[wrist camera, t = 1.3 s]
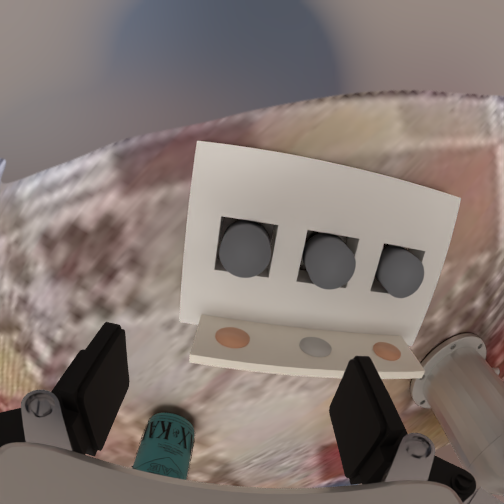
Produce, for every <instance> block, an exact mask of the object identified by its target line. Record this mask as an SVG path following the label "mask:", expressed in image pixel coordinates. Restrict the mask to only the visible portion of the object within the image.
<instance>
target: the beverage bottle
mask: <svg viewBox="0 0 504 504" xmlns="http://www.w3.org/2000/svg"><path fill="white" fill-rule="evenodd" d="M147 423H148V424H147V425H146V426H145V427H146V428H145V429H144V432H143V433H144V436H143V435H142V436H143V437H142V438H143V439H142V440H140V441H141V444H140V443H139V444H140V446H139V450H138V453H137V456H136V459H135V462H134V465H133V466H132V467H133V468H132V469H136V470H140V471H144V472H148V473H153V474H157V475H162V476H167V477H172V478H178V479H184V480H186V478H187V472H188V470H189V469H188V468H190V466H189V461H191V459H190V455H191V456H192V454H191V450H192V451H193V448H192V447H193V446H194V444H193V443H194V437H195V436H194V432H195V431H194V428H193V426H192V424H191V423H190V422H189V421H188V420H186V419H185V418H183V417H181V416H179V415H176V414H172V413H158V414H155V415H153V416H152V417H151V418H150V420H149V421H148V422H147ZM188 466H189V467H188ZM188 474H189V473H188Z"/></svg>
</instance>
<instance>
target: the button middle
mask: <svg viewBox="0 0 504 504" xmlns="http://www.w3.org/2000/svg"><path fill="white" fill-rule="evenodd" d="M302 259H303V263H304V265H305V267H306V270H307V272H308V275H309V277H310V279H311V281H312V282H313V283H314V284H315V285H316V286H318V287H320V288H323V289H329V290H330V289H336V288H339V287H341V286H343V285H345V284H346V283H347V282H348V281H349V280H350V279H351V277H352V276H353V274H354V271H355V267H356V261H355V257H354V254H353V253H352V251H351V250H350V249H349V248H348V247H347V245H346V244H345V243H344V242H343V241H342V240H341V239H340V238H339V237H338V236H336V235H334V234H330V233H320V234H317V235H315V236H313V237H312V238H310V239H309V240H308V241H307V243H306V244H305V246H304V249H303V254H302Z"/></svg>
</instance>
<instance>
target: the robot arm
mask: <svg viewBox="0 0 504 504" xmlns="http://www.w3.org/2000/svg"><path fill="white" fill-rule="evenodd" d="M485 359H486V346H485V343H484V342H483V341H482V340H481V338H480V337H478V336H477V335H475V334H472V333H465V334H460V335H457V336H454V337H452V338H450V339H448V340H446V341H445V342H443V343H442V344H440V345H439V346H438V347H436V348H435V349H434V350H433V351H432V352H431V353H430V354H429V355H428V356H427V357H426V358H425V359H424V360H423V361H422V363H421V366H422V367H423V369H424V370H425V373H424V375H423V377H422V378H413V379H412V381H411V386H410V394H411V396H412V398H413V400H414V402H415V403H416V404H417V405H418V406H420V407H423V408H431V409H432V410H433V412H434V414H435V416H436V418H437V419H438V421H439V423H440V425H441V427H442V428H443V430H444V432H445V434H446V436H447V438H448V439H449V441H450V443H451V445H452V447H453V449H454V451H455V453H456V454H457V456H458V458H459V460H460V462H461V464H462V466H463V468H464V469H462V468H460V467H457V466H455V465H453V464H451V463H449V462H447V461H445V460H443V459H441V458H439V457H437V456H435V455H434V454H435V447H434V444H433V442H432V441H431V440H430V439H429V438H428V437H426V436H425V435H423V434H419V433H410V434H407V432H406V429H405V427H404V425H403V423H402V421H401V419H400V416H399V414H398V412H397V410H396V408H395V406H394V404H393V402H392V400H391V398H390V395H389V393H388V391H387V390H386V388H385V386H384V384H383V382H382V380H381V378H380V376H379V374H378V372H377V370H376V368H375V366H374V364H373V362H372V360H371V358H370V357H369V356H355V357H354V358H353V359H350V360H349V362H348V365H347V367H346V370H345V372H344V375H343V377H342V380H341V382H340V384H339V387H338V389H337V391H336V394H335V396H334V398H333V400H332V403H331V405H330V409H329V413H330V417H331V421H332V425H333V429H334V433H335V437H336V441H337V445H338V449H339V453H340V457H341V461H342V465H343V469H344V473H345V476H346V477H347V478H349V479H350V483H351V484H360V483H362V485H352V486H339V487H325V488H256V487H241V486H229V485H219V484H211V483H203V482H196V481H190V480H184V479H178V478H172V477H167V476H162V475H157V474H153V473H148V472H144V471H140V470H136V469H132V468H128V467H124V466H120V465H117V464H113V463H109V462H106V461H103V460H99V459H96V458H93V457H90V456H87V455H85V454H89V455H92V456H95V455H96V452H97V450H100V451H101V450H102V448H103V446H104V444H105V441H106V439H107V436H108V434H109V432H110V429H111V427H112V424H113V422H114V420H115V417H116V415H117V413H118V410H119V408H120V406H121V404H122V401H123V399H124V397H125V394H126V392H127V390H128V387H129V373H128V363H127V352H126V339H125V330H123V329H121V326H120V325H118V324H113V323H109V322H105V323H104V325H103V326H102V327H101V329H100V330H99V331H98V333H97V334H96V336H95V337H94V338H93V340H92V341H91V342H90V344H89V345H88V347H87V348H86V349H85V350H81V351H80V352H79V353H78V354H77V356H76V357H75V359H74V360H73V361H72V363H71V364H70V366H69V367H68V368H67V370H66V371H65V373H64V374H63V376H62V377H61V378H60V380H59V381H58V383H57V384H56V386H55V387H54V389H53V390H52V392H50V391H46V390H35V391H32V392H30V393H28V394H27V395H26V396H25V397H24V398H23V400H22V402H21V408H18V409H14V410H10V411H6V412H1V413H0V504H504V503H503V502H501V501H500V500H498V499H497V498H496V497H494V496H493V495H491V494H495V495H502V496H504V382H503V381H502V379H501V378H500V377H499V376H498V375H499V373H500V370H499V368H498V367H496V368H491V366H490V365H489V364H488V363H487V362H486V361H485Z"/></svg>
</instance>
